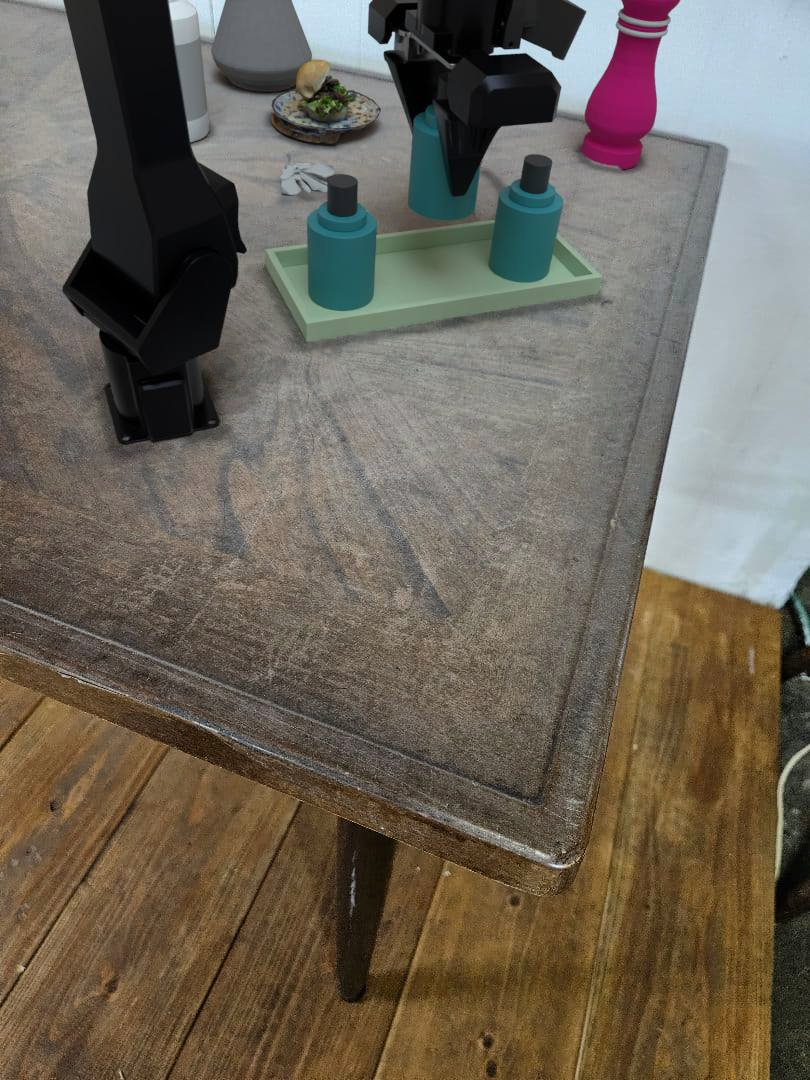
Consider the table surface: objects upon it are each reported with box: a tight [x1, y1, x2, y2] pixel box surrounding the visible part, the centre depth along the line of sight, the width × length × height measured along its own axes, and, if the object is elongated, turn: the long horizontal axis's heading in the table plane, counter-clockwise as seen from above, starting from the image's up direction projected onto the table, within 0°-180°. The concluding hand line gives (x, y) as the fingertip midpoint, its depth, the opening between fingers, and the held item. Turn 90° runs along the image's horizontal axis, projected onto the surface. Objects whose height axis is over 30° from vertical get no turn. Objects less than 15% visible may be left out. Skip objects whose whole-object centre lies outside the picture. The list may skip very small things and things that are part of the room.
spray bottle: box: [169, 0, 210, 143], centre depth 79 cm, size 7×7×18 cm
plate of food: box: [271, 46, 382, 145], centre depth 87 cm, size 12×12×8 cm
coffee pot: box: [210, 0, 313, 93], centre depth 91 cm, size 21×12×15 cm, turn 96°
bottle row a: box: [489, 153, 564, 282], centre depth 67 cm, size 5×5×9 cm
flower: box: [278, 149, 336, 196], centre depth 78 cm, size 8×8×3 cm
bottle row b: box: [306, 173, 378, 311], centre depth 62 cm, size 5×5×9 cm
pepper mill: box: [580, 0, 681, 170], centre depth 81 cm, size 7×7×20 cm
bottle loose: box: [407, 72, 482, 222], centre depth 60 cm, size 5×5×9 cm
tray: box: [264, 219, 603, 343], centre depth 68 cm, size 11×25×2 cm, turn 112°
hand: (443, 179), depth 62 cm, fingers closed on bottle loose, 5 cm apart
